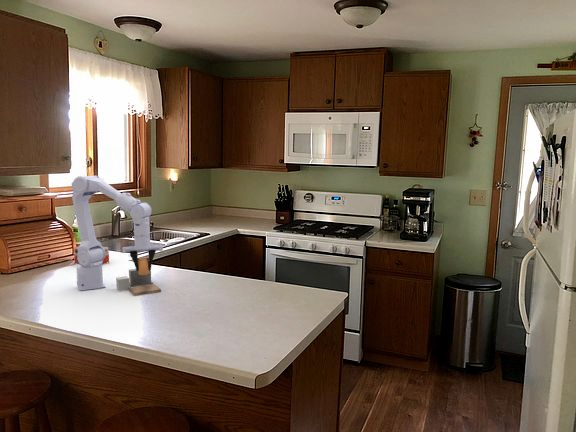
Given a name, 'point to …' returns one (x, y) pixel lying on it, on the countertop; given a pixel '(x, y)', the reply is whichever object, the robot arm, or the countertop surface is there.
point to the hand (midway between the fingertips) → (143, 270)
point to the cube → (122, 283)
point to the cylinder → (143, 266)
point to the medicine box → (90, 248)
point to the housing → (139, 278)
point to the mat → (144, 289)
